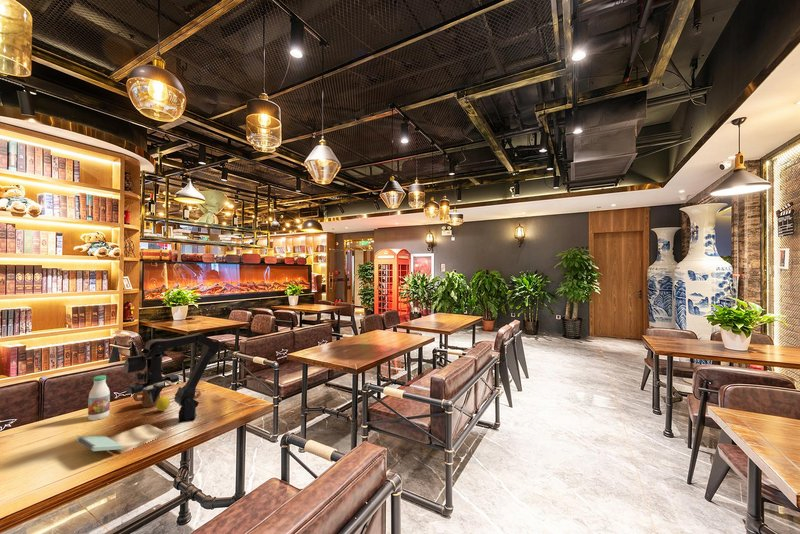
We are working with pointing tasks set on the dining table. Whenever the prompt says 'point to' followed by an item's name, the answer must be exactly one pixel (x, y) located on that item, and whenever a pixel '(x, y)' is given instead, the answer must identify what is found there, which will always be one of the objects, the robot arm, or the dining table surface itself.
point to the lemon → (163, 403)
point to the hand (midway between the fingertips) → (153, 402)
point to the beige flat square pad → (137, 437)
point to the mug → (145, 399)
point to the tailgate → (98, 443)
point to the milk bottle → (99, 399)
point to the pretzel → (197, 393)
